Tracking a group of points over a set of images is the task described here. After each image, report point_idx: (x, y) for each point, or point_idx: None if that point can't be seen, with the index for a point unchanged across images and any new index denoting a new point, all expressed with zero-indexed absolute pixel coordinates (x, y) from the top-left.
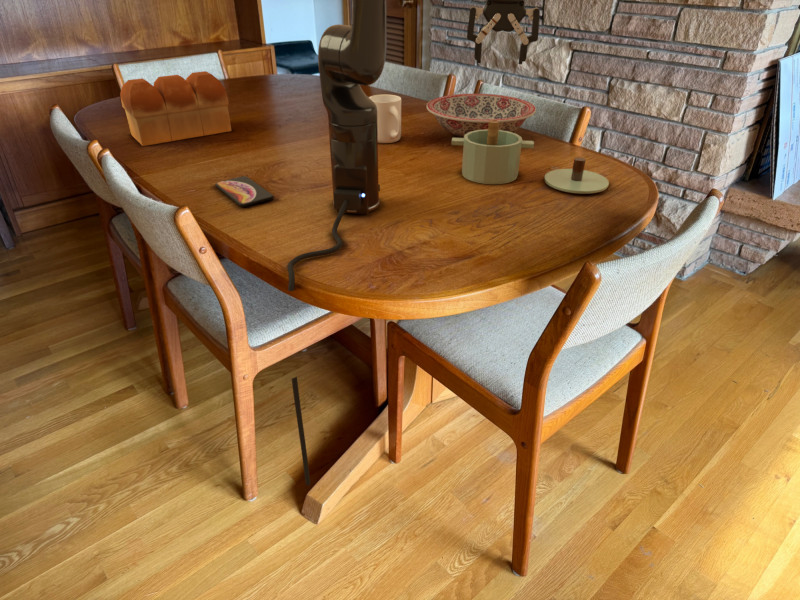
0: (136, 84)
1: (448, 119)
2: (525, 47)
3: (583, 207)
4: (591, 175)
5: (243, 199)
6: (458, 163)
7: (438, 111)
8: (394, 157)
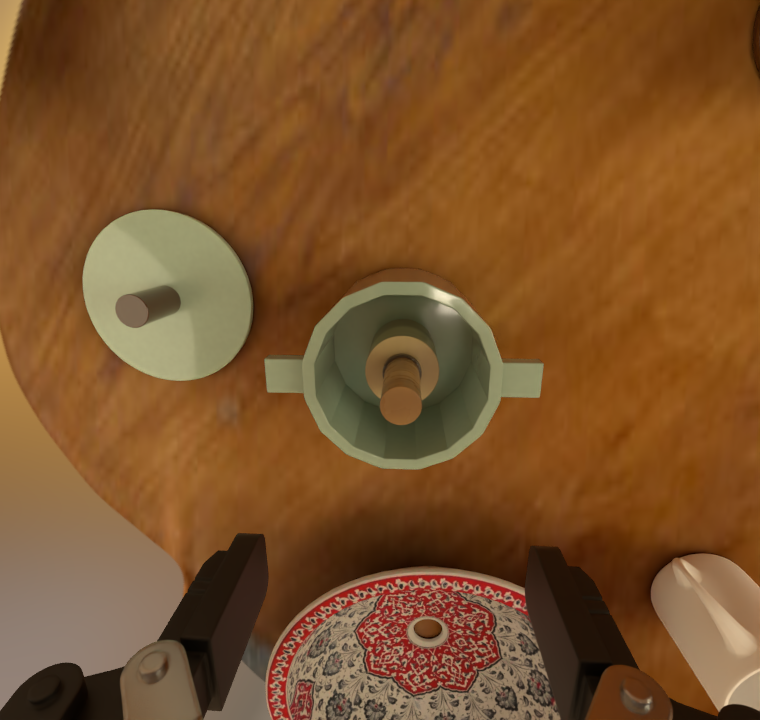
0: None
1: None
2: (179, 632)
3: (149, 126)
4: (128, 335)
5: None
6: None
7: None
8: (674, 448)
